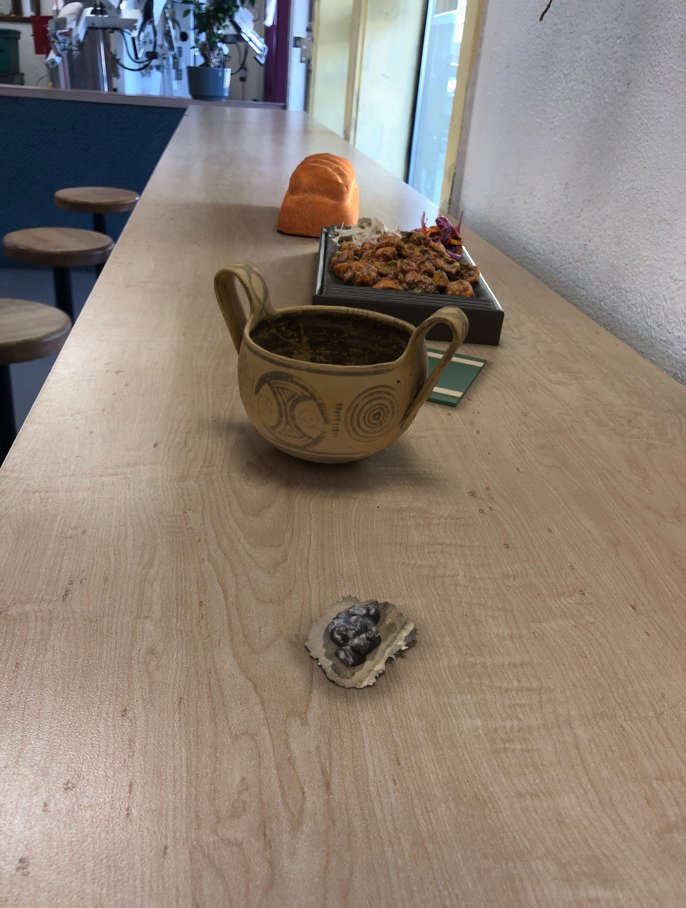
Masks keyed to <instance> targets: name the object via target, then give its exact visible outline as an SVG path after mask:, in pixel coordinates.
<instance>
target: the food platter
mask: <svg viewBox="0 0 686 908" xmlns="http://www.w3.org/2000/svg"><path fill="white" fill-rule="evenodd" d="M463 216H464V210H461V214H460V218H459V220H458V224H457V225H456V226H454V225H453V224H452V222H451V221H450V219H448V218H447V217H446V216H443V215H441V214H439V215H438V216H437V217H436V218H435V219H434V222H435V225H430V226H429V227H428V226H426V224H427V223H426V222H427V221H428V220H429V218H426V211H422V216H421V218H420V224H421V227H419V228H417V227H416V228H414V229H412V230H410V231H408V230H402V228H400V226H399V225H396V226H392V227H389V228H388V227H387V226H386V224H385V223H384V222H382V220H379V219H378V218H377V217H368V216H366V217H358V220H357V224H356V225H353V226H352V225H351V224H350V226H343V224H344V222H343V224H342V226H341V225H330V226H329V227H322V228H321V233H320V237H319V241H318V252H317V259H316V267H315V268H316V269H315V276H314V282H313V291H312V292H313V293H312V301H311V303H312V304H311V306H316V305H320V306H341V307H350V308H356V309H363V310H369V311H373V312H377V313H381V314H385V315H389V316H392V317H394V318H397V319H400V320H402V321H405V322H407V323H409V324H411V325H413V326H414V327H415V328H417V327H418V326H419V325H421V324H422V323H423V322H424V321H425V320H427V319H428V318H430V317H431V316H432V315H433V314H434V313H435V312H437V311H438V310H440V309H442V308H444V307H457V308H459V309H461V311H462V312H463V313H464V314H465V315H466V316H467V318H468V322H469V326H468V332H467V335H466V337H465V339H464V341H463V343H462V344H464V343H465V344H475V345H485V346H486V345H488V346H496V347H497V346H498V347H499V344H500V339H501V335H502V329H503V325H504V320H505V311H504V309H503V307H502V305H500V303H499V301H498V300H497V298H496V297H495V294H494V293H493V291H492V290H491V288H490V286H489V285H488V283H487V282H486V280H485V278H484V277H483V276H482V274H481V271H480V270H481V269H480V268H479V267H478V266H477V265H476V264H475V262H474V261H473V259H472V258H471V256H470V255H469V253H468V251H467V250H466V248H465V246H464V240H463V238H462V237H461V224H462V219H463ZM425 219H426V220H425ZM425 221H426V222H425ZM425 340H426V341H427V340H428V341H441V342H450V343H451V342H452V340H453V332H452V330H451V328H450V327H449V326H448V325H447V324H446V323H443V322H442V323H436V324H435V325H434V326H433V327H432V328H431V329H430V330H429V331H428V332H427V334H426V336H425Z"/></svg>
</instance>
